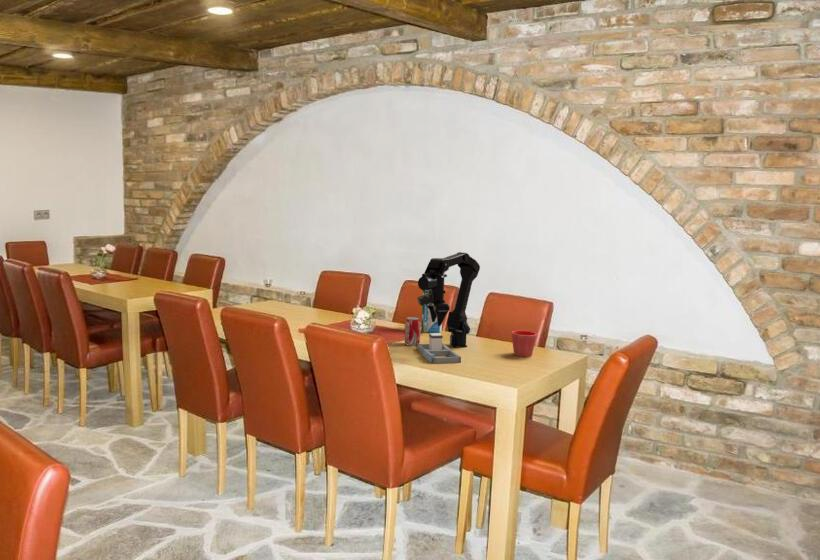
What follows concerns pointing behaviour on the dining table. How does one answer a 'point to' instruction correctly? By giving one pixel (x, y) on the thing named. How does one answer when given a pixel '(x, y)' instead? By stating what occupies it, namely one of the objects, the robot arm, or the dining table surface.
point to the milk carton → (429, 320)
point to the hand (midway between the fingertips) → (436, 323)
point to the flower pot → (523, 342)
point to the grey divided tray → (438, 354)
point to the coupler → (435, 341)
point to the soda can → (412, 331)
